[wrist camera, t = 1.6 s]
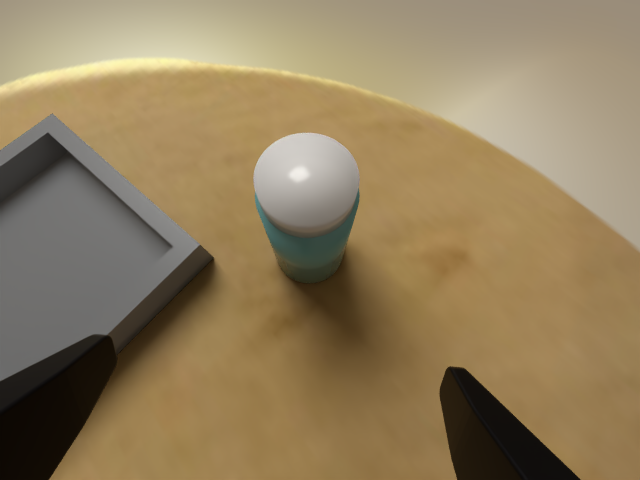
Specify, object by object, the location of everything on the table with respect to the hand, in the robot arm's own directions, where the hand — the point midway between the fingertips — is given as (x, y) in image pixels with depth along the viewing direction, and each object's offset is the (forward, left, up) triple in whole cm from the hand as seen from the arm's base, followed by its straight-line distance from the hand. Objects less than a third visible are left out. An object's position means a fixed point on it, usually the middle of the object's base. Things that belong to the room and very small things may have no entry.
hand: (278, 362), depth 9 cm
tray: (-7, +17, -13) cm, 23 cm away
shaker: (+6, +4, -13) cm, 15 cm away
